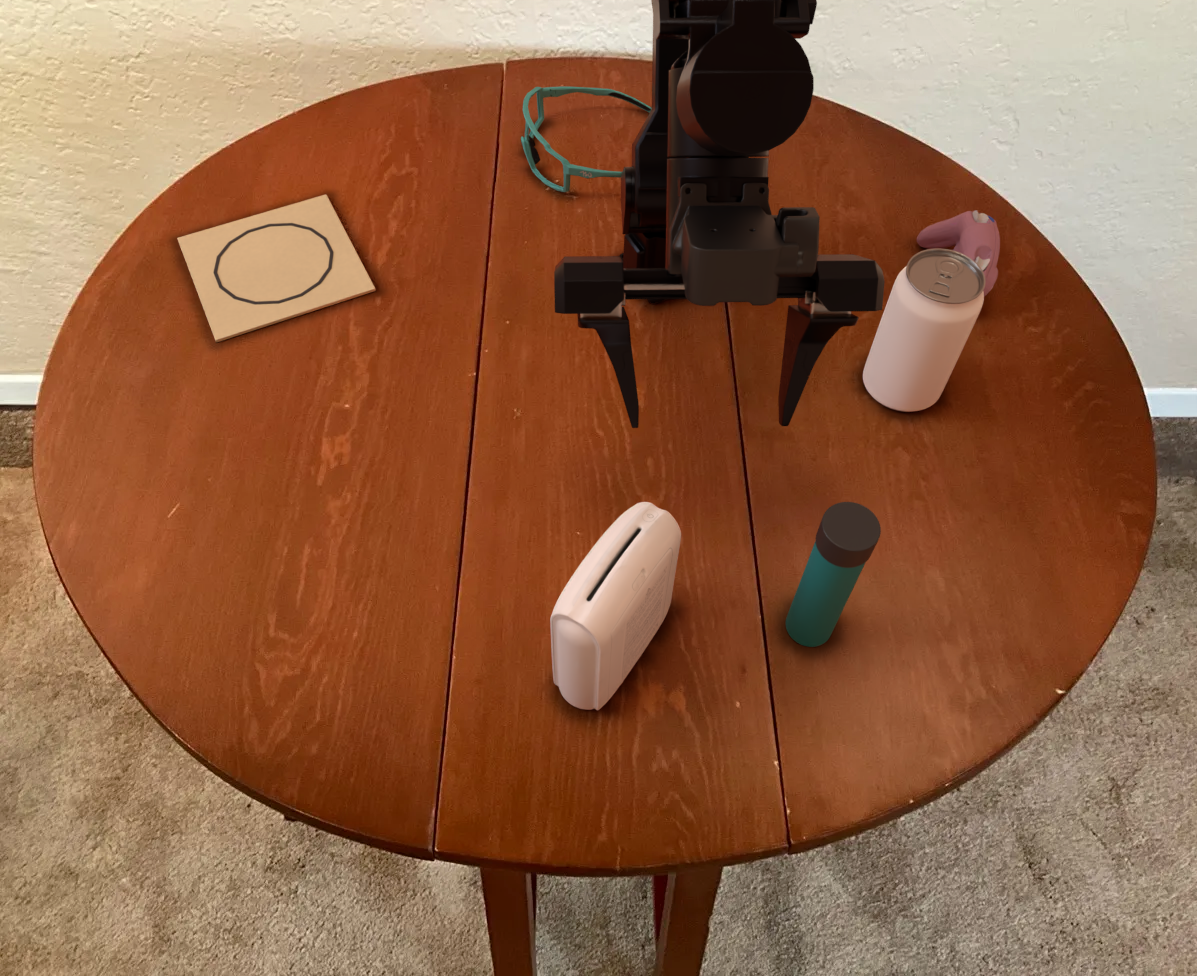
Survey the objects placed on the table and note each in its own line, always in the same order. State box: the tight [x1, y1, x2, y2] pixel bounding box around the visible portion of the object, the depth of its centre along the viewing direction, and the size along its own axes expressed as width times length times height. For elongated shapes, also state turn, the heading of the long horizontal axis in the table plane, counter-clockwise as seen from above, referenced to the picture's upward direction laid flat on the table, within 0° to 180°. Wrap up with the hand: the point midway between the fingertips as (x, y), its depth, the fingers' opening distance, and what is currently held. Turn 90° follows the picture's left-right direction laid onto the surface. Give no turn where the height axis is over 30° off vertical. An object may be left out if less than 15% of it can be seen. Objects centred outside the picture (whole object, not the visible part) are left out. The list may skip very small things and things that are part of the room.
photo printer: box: [549, 501, 682, 711], centre depth 60 cm, size 10×4×12 cm, turn 147°
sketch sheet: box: [176, 193, 377, 343], centre depth 86 cm, size 14×14×1 cm
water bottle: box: [785, 501, 882, 648], centre depth 61 cm, size 3×3×13 cm
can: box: [862, 248, 986, 413], centre depth 74 cm, size 6×6×12 cm
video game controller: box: [916, 209, 1001, 297], centre depth 84 cm, size 10×5×7 cm, turn 168°
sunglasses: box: [520, 85, 652, 193], centre depth 94 cm, size 14×15×5 cm
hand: (709, 425), depth 59 cm, fingers open, 9 cm apart
